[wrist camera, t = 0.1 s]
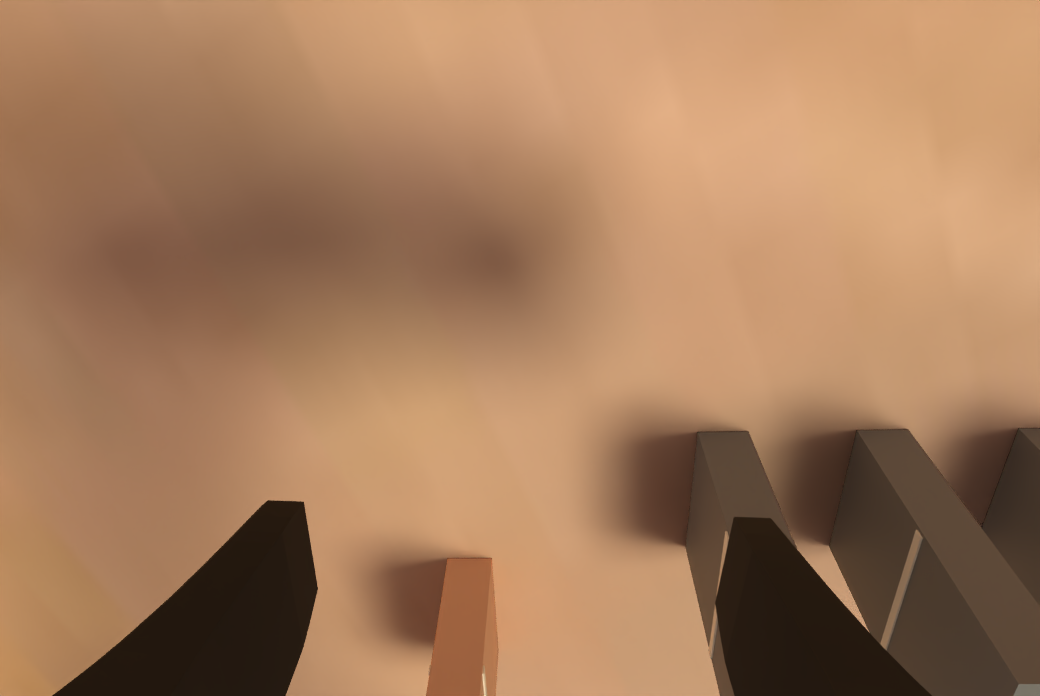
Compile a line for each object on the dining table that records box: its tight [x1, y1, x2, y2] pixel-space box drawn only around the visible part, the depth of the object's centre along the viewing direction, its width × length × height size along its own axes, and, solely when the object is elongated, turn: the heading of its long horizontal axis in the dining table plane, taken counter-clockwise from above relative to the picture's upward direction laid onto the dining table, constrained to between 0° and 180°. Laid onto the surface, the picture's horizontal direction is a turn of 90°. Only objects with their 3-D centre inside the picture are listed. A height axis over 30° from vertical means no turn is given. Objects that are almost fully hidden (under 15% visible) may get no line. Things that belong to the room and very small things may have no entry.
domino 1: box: [686, 431, 797, 696], centre depth 20 cm, size 5×2×9 cm, turn 2°
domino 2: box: [829, 430, 1040, 696], centre depth 20 cm, size 5×2×9 cm, turn 2°
